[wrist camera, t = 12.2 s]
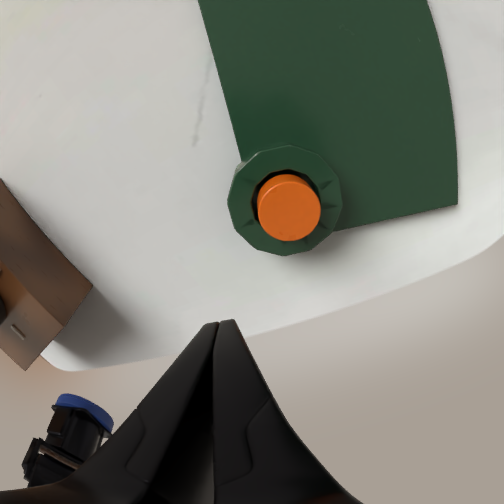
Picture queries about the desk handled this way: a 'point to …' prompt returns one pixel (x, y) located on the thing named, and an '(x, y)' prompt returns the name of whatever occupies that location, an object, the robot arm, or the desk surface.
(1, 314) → the knob
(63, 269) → the panel
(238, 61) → the green flat plate
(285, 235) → the button
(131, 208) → the desk surface
